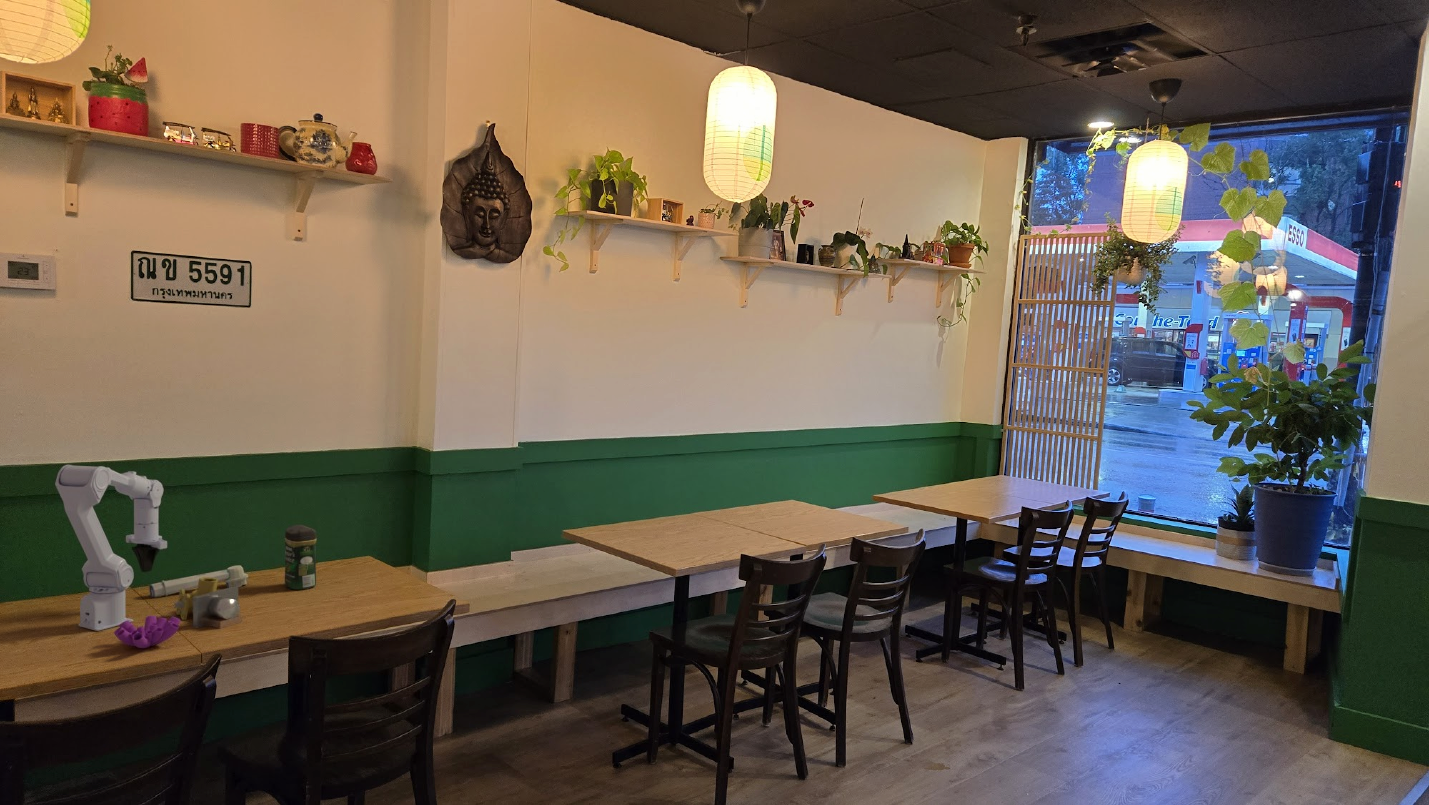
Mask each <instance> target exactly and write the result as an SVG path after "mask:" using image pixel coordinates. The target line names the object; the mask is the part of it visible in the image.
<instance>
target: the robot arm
mask: <svg viewBox="0 0 1429 805" xmlns="http://www.w3.org/2000/svg"><path fill="white" fill-rule="evenodd" d="M54 484H55V487H56V489H57V491H58V494H59V496H60V498H61V500H62V502H63V506H64V511H65V514H66V515H67V516H66V517H68V518H67V519H68V520H69V523H70V524H71V526H72V528H73V532H75V535H76V537H77V539H78V541H79V543H80V545H81V547H82V550H83V553H84V554H85V556H86V558H87V560H86V562H85V563H84V564H83V566H82V568H81V571H82V575H83V582H84V585H85V586H86V587H87V588H88V590H89V592H90V593H88V594H86V595H84V596H81V598H80V602H79V623H78V627H81V628H85V629H89V630H93V631H98V632H99V631H102V630H107V629H111V628H114V627H118V626H119V625H120V624H121V623H123V622H125V621H127V620H128V621H130V623H133V622H134V619H132V618H129V617H126V590H127V589H129V587H130V586H131V584H132V583H133V580H134V569H133V567H132V566H131V565H129V564H128V562H127V560H126V559H124V558H123V557H121V556H119V555H118V554H115V553H114V552H113V550H112V547H111V545H110V543H109V540H108V538H107V536H106V534H105V532H104V530H103V527H102V524H101V523H100V520H99V518H98V515H97V514H96V511H95V509H94V506H97V505H98V504H100V502H101V499H102V498H103V496H104V494H105V492H106V490H107V488H108V487H109V486H111V487H114V488H115V491H116V492H118V494H122V495H125V496H129V498H130V500H132V501H133V534H128V535H126V536H125V542H126V543H128V544H129V543H132V544H136V546H132V547H131V551H132V552H133V553H134V555H135V557H136V559H137V562H138V565H139V568H140V571H141V573H147V572H152V569H153V566H154V564H155V563H154V562H155V560H156V557H157V555H158V553H159V552H160V550H164V549H167V548H168V541H167V540H164V539H163V536H162V535H159V506H160V505H161V503H162V500H161V499H162V496H164V495H163V494H164V487H163V484H162V483H161V482H160V481H159V480H157V479H148V478H147V476H146V475H138V474H137V471H130V470H128V471H127V472H123V473H119V472H117V471H115V470H113V469H111V468H110V467H108V466H107V467H105V466H103V465H101V466H100V465H99V466H85V465H73V464H66V465H63V466H62V467H61V468H60V469H59V470H58V473H57V476H56V480H55V483H54Z"/></svg>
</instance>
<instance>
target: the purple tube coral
mask: <svg viewBox="0 0 1429 805" xmlns="http://www.w3.org/2000/svg"><path fill="white" fill-rule="evenodd" d="M181 620H182V619H181V618H178V617H175V616H171V617H170V618H169V619H167V618H165V617H157V616H156V615H148V616H146V617H145V620H144V626H143V625H141V626H138V627H135V625H134V624H133V623H132V622H130V621H128V620H127V621H125V622H123V623H121V624H120V625H118V626H119V627H118V628H117V629H115V630H114V632H113V633H114V635H115V637H116V638H117V639H118V640H119V641H120V642H122V643H123V644H126V645H128V646H133V647H137V648H138V649H147V648H149V647H153V646H155V645H158V644H161V643H163V642H164V641H167V640H169V639H170V638H171V637H173V636H174V635H175V634H176V633H177V631H178V630H179V628H180V626H179V624H181Z"/></svg>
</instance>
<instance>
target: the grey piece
mask: <svg viewBox="0 0 1429 805" xmlns="http://www.w3.org/2000/svg"><path fill="white" fill-rule="evenodd" d="M202 577H212V578H216V579H217V580H218V583H219V582H224V583H225V585H226V587H225V588H230V587H234V586H235V587H238V588H241V587H242V586H246V585H248V579H247V578H249V574H248V573H245V571H244V567H242V565H232V566H230V567H228V568H226V569H222V570H217V571H211V572H207V573H201V574H195V575H192V576H186V577H180V578H176V579H175V578H174V579H169V580H162V581H160V582H156V583H151V584H149V585H148V589H149V594H150V597H151V598H152V599H155V598H160V597H168V596H169V595H172V594H177V593H180V589H184V590H185V591H189V590H191V589H197V588H198V583H199V578H202Z"/></svg>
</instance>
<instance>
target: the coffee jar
mask: <svg viewBox="0 0 1429 805" xmlns="http://www.w3.org/2000/svg"><path fill="white" fill-rule="evenodd" d="M317 539H318V538H317V531H316V530H315V529H314V528H311V527H308V526H306V525H304V524H296V525H290V526H288V527H287V528H286V529H285V532H284V545H285V546H284V547H285V548H284V551H285V555H284V556H285V559H284V586H286V587H288V588H289V589H290V590H295V591H296V590H304V591H305V590H308V589H311V588H314V587H316V585H317V569H316V568H317V566H316V565H317V563H316V560H317V559H316V551H317V549H316V548H317V546H316V545H317Z"/></svg>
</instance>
